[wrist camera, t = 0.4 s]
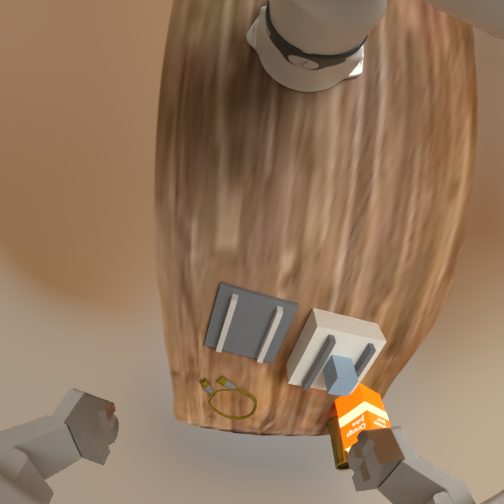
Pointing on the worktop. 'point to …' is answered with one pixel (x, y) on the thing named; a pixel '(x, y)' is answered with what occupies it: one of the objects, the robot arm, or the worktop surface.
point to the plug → (340, 375)
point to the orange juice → (360, 414)
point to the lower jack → (249, 323)
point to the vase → (338, 445)
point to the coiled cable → (228, 384)
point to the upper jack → (332, 347)
